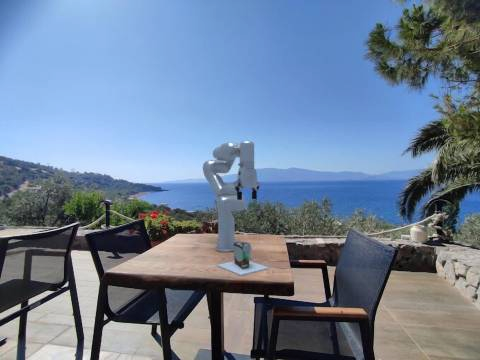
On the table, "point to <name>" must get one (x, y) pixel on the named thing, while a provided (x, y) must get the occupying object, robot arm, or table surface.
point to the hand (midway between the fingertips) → (247, 199)
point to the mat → (237, 270)
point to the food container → (242, 254)
